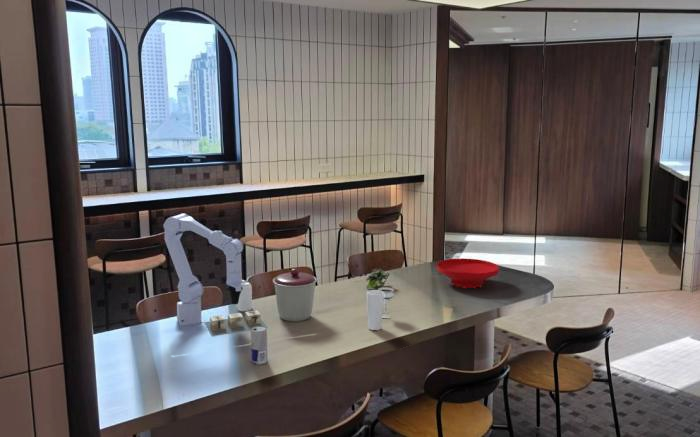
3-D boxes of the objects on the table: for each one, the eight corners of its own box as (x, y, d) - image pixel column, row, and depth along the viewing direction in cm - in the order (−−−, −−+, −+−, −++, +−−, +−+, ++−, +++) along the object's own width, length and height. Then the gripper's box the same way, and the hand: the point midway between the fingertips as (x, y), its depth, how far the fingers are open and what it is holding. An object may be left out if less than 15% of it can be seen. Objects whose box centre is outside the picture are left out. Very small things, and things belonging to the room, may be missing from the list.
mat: (211, 337, 213) (211, 336, 213) (204, 323, 227) (204, 322, 227) (268, 329, 222) (268, 327, 222) (257, 316, 236) (257, 314, 236)
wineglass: (395, 315, 238) (396, 288, 236) (389, 320, 232) (390, 292, 230) (380, 313, 241) (381, 286, 239) (374, 318, 235) (375, 290, 232)
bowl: (504, 293, 269) (505, 273, 267) (440, 293, 269) (441, 273, 267) (489, 276, 299) (490, 257, 297) (432, 275, 299) (433, 257, 297)
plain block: (230, 328, 221) (230, 318, 221) (228, 323, 226) (227, 314, 225) (243, 326, 223) (243, 316, 223) (240, 322, 228) (240, 312, 227)
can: (248, 312, 240) (248, 285, 238) (234, 311, 241) (233, 284, 239) (254, 307, 246) (253, 281, 244) (240, 306, 248) (239, 280, 246)
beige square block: (212, 330, 218) (212, 320, 218) (210, 326, 223) (210, 316, 222) (225, 328, 220) (225, 318, 220) (223, 324, 225) (222, 314, 224)
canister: (293, 307, 247) (292, 261, 243) (325, 316, 237) (325, 267, 233) (264, 319, 233) (263, 270, 229) (297, 329, 222) (297, 277, 219)
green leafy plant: (375, 295, 281) (384, 274, 285) (388, 297, 272) (397, 275, 276) (358, 286, 276) (368, 264, 280) (371, 287, 267) (381, 265, 271)
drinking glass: (385, 326, 225) (385, 290, 223) (380, 332, 219) (381, 295, 216) (368, 324, 227) (369, 289, 225) (363, 330, 221) (364, 293, 218)
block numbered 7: (248, 325, 224) (248, 315, 223) (245, 321, 229) (245, 311, 228) (260, 323, 226) (260, 314, 225) (257, 319, 231) (257, 310, 230)
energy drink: (252, 358, 195) (251, 325, 193) (267, 358, 195) (267, 325, 193) (250, 365, 189) (250, 331, 187) (266, 365, 190) (266, 331, 188)
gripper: (248, 274, 216) (249, 308, 218) (239, 265, 229) (240, 297, 231) (230, 276, 213) (231, 310, 215) (222, 266, 226) (223, 299, 228)
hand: (235, 303), depth 223 cm, fingers closed
